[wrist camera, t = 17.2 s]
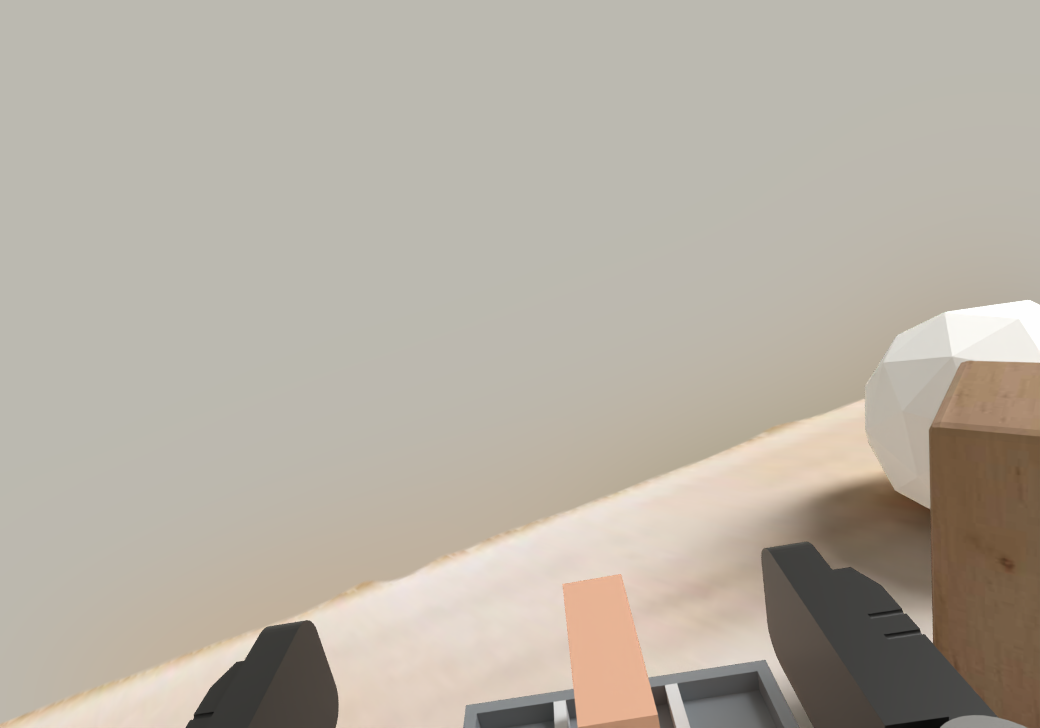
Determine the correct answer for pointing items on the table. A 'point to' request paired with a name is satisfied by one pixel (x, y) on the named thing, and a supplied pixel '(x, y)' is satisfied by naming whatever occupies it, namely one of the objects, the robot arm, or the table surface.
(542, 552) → the table surface
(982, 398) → the wooden block
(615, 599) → the tan brick
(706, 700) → the tray
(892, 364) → the geometric form
